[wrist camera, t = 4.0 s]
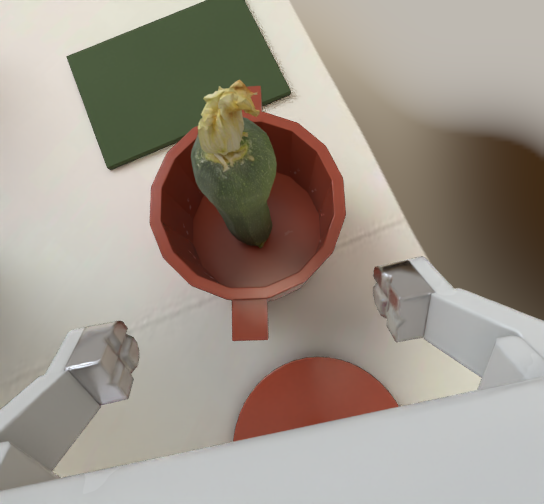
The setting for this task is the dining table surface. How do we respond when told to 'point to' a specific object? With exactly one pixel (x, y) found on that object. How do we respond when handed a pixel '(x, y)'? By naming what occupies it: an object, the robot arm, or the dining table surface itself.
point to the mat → (170, 76)
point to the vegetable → (235, 163)
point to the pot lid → (310, 396)
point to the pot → (284, 215)
